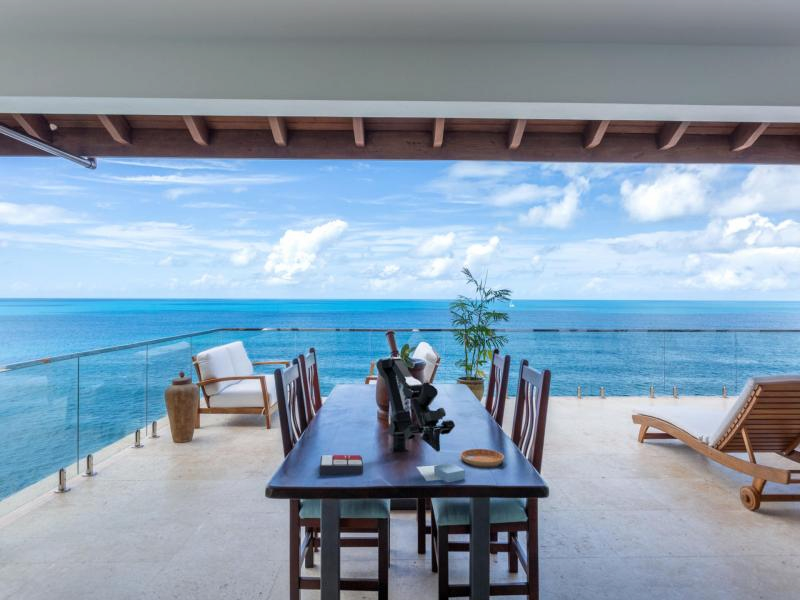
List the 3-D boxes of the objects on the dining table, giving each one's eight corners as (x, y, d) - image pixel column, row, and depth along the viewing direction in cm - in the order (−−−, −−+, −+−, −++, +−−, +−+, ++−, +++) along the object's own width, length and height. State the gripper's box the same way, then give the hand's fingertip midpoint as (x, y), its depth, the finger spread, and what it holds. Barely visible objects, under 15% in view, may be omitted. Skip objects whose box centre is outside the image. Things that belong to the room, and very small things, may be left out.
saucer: (466, 454, 181) (466, 446, 181) (506, 458, 175) (506, 450, 175) (456, 466, 166) (456, 458, 166) (500, 472, 160) (500, 464, 160)
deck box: (434, 466, 156) (447, 473, 149) (451, 462, 159) (464, 469, 152) (434, 474, 156) (447, 482, 149) (451, 471, 159) (464, 479, 152)
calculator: (363, 464, 159) (319, 463, 157) (362, 476, 159) (319, 476, 157) (361, 454, 170) (321, 453, 168) (361, 465, 170) (320, 465, 168)
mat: (416, 468, 163) (416, 467, 163) (450, 465, 166) (450, 464, 166) (426, 482, 150) (426, 480, 150) (463, 479, 153) (463, 477, 153)
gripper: (408, 403, 160) (424, 443, 150) (452, 398, 169) (470, 435, 159) (398, 420, 167) (412, 459, 157) (440, 414, 176) (456, 451, 166)
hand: (438, 451), depth 160 cm, fingers closed
